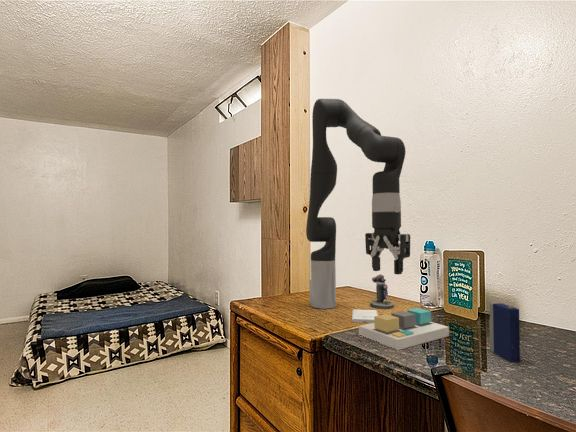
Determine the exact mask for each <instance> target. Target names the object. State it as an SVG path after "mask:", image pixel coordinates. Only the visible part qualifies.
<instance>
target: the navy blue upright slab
mask: <svg viewBox="0 0 576 432" xmlns="http://www.w3.org/2000/svg"><path fill="white" fill-rule="evenodd" d="M488 326H489V351H490V352H492V353H493V354H494V355H496V356H499V357H500V358H503V359H504V360H505V361H508V362H510V363H521V343H520V341H521V337H520V334H521V333H520V309H519V308H517V307H515V306H514V305H508V304H505V303H501V302H498V301H493V302H490V303H489V325H488Z"/></svg>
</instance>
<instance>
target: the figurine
mask: <svg viewBox="0 0 576 432" xmlns="http://www.w3.org/2000/svg"><path fill="white" fill-rule="evenodd" d="M371 280H372V282H373V283H375V284H376V287H375V290H376V299H373V300H370V302H369V306H370V308H373V309H376V310H377V309H378V310H391V309H393V308H395V303H394V302H393V301H392V300H387V296H388V294H389V292H388V289H389V287H388V284H386V282H387V280H386V279H385V276H384V275H383V274H381V273H380V274H378V275H376V276H373V277H372V278H371Z"/></svg>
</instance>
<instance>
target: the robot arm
mask: <svg viewBox="0 0 576 432" xmlns="http://www.w3.org/2000/svg"><path fill="white" fill-rule="evenodd" d="M311 116H312V121H311V123H312V153H311V156H312V157H311V168H310V179H309V180H310V183H309V202H308V203H309V204H308V211H307V219H306V229H305V233H306V239H307V241H309V243H310V242H312V243H319V242H320V243H323V242H324V245H323V246H322V247H321V248H319V249H317V250H314V251H312V252H311V253H310V279H309V305H310V306H311V307H312V308H315V309H322V310H323V309H324V310H325V309H334V308H336V306H337V293H336V292H337V291H336V289H337V288H336V287H337V286H336V285H337V283H336V282H337V281H336V280H337V279H336V277H337V275H336V274H337V273H336V244H337V243H336V241H337V240H336V239H337V224H336V220H335V218H334V217H331V216H330V217H329V216H328V217H327V216H321V217H320V216H319V213H320V210H321V208H322V205H324V202H325V201H326V200H327V198H328V197H329V196H330V195H331V193H332V192H333V191H334V189H335V187H336V185H337V176H338V164H337V161H336V159H335V157H334V154H333V153H332V151H331V149H330V147H329V145H328V140H327V128H339V127H340V128H343V129H346V131H345V132H346V136H347V137H348V139H349V141H351V142H352V143H353V144H354V145H356V146H357V147H359V148H360V150H361V151H362V153H363V155H364V156H365V157H366V158H367V159H368V160H370V161H372V162H375V163H384V164H385V165H384V168H383V170H381V171H377V172H374V174H373V175H372V198H371V199H372V200H371V226H372V228H373V229H374V231H373V232H366V233H365V235H364V237H365V239H364V240H365V254H366V255H369V256H370V258H371V268H372V271H374V272H379V271H381V257H380V256H381V254H382V252H383V251H384V250H385V249H386V250H389V252H390V253H391V254H392V256H393V258H394V259H393V274H394V275H401V274H403V272H404V259H406V258H410V256H411V234H409V233H401V231H400V229H401V227H402V201H401V195H400V194H401V192H400V191H401V190H400V177H401V173H402V170H403V166H404V162H405V159H406V146H405V143H404V142H403V140H402V139H401V138H399V137H395V136H387V135H382V133H381V132H380V130H379V129H378V128H377V127H376V126H374V125H372V124H370V123H369V122H368V121H365V120H364V119H363V118H362V117H360V116H359V115H358V114H357V112H355V110H353V108H351V106H350V105H349V104H348V103H347V102H345V101H344V100H342V99H340V98H318V99H316V100H315V102H314V104H313V109H312V115H311Z"/></svg>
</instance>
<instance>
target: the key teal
mask: <svg viewBox="0 0 576 432" xmlns="http://www.w3.org/2000/svg"><path fill="white" fill-rule="evenodd" d="M406 312H409V313H412V314H415V315H416V323H418V324H423V323H428V322H432V311H431V310H427V309H425V308H420V307H415V308H410V309H407V311H406Z"/></svg>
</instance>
